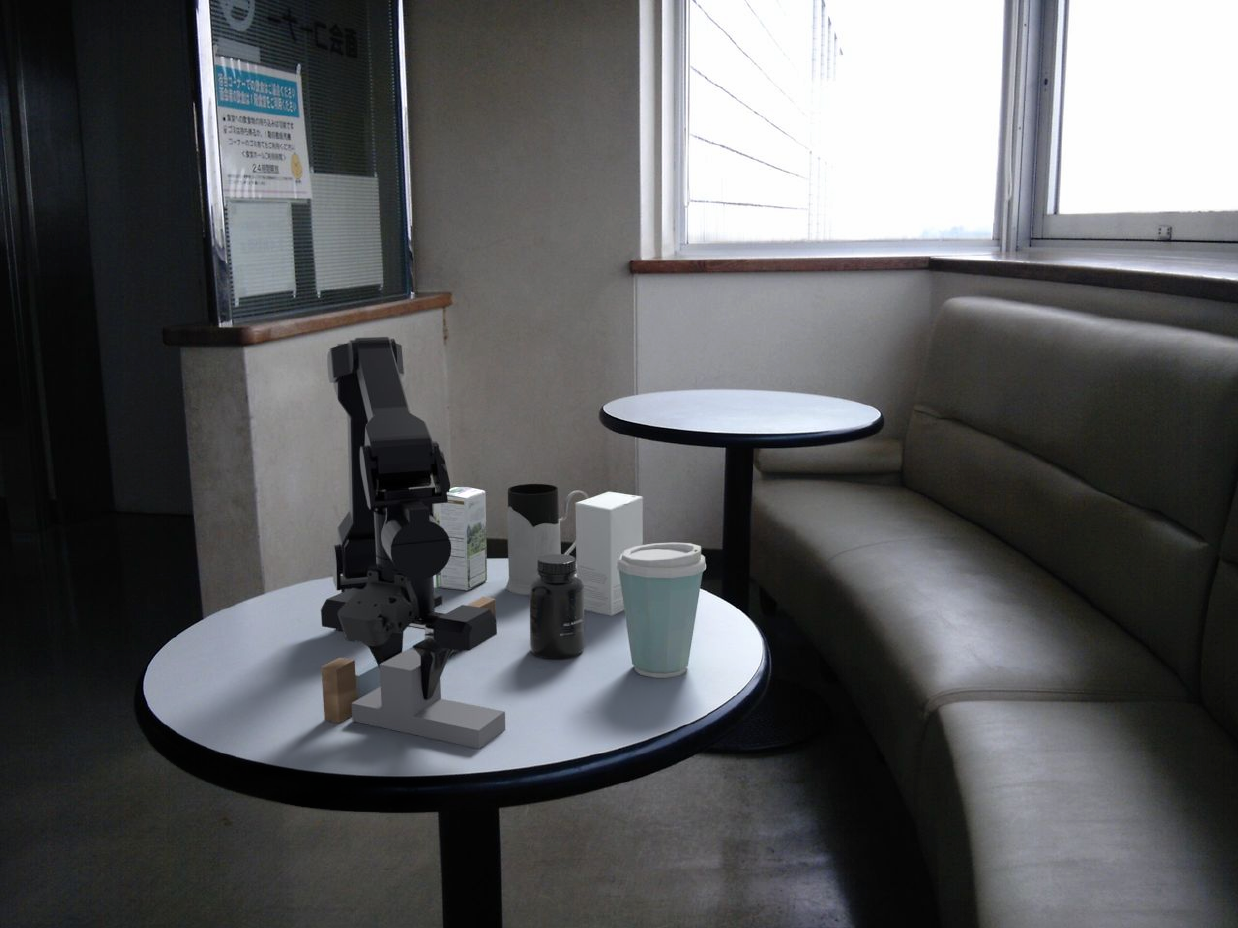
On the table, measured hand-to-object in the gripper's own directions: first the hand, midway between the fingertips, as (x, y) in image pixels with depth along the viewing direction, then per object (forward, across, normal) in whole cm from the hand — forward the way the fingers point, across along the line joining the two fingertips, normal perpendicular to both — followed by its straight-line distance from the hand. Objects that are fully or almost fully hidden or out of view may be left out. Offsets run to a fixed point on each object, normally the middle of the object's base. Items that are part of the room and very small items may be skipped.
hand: (411, 695), depth 114 cm
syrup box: (+3, -23, +44) cm, 50 cm away
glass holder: (+3, -11, +50) cm, 51 cm away
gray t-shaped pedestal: (+3, 0, 0) cm, 3 cm away
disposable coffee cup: (+3, +18, +25) cm, 31 cm away
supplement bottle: (+3, +4, +25) cm, 26 cm away
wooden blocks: (+3, -8, +19) cm, 21 cm away
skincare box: (+3, +2, +44) cm, 44 cm away
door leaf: (+3, -8, +19) cm, 21 cm away
